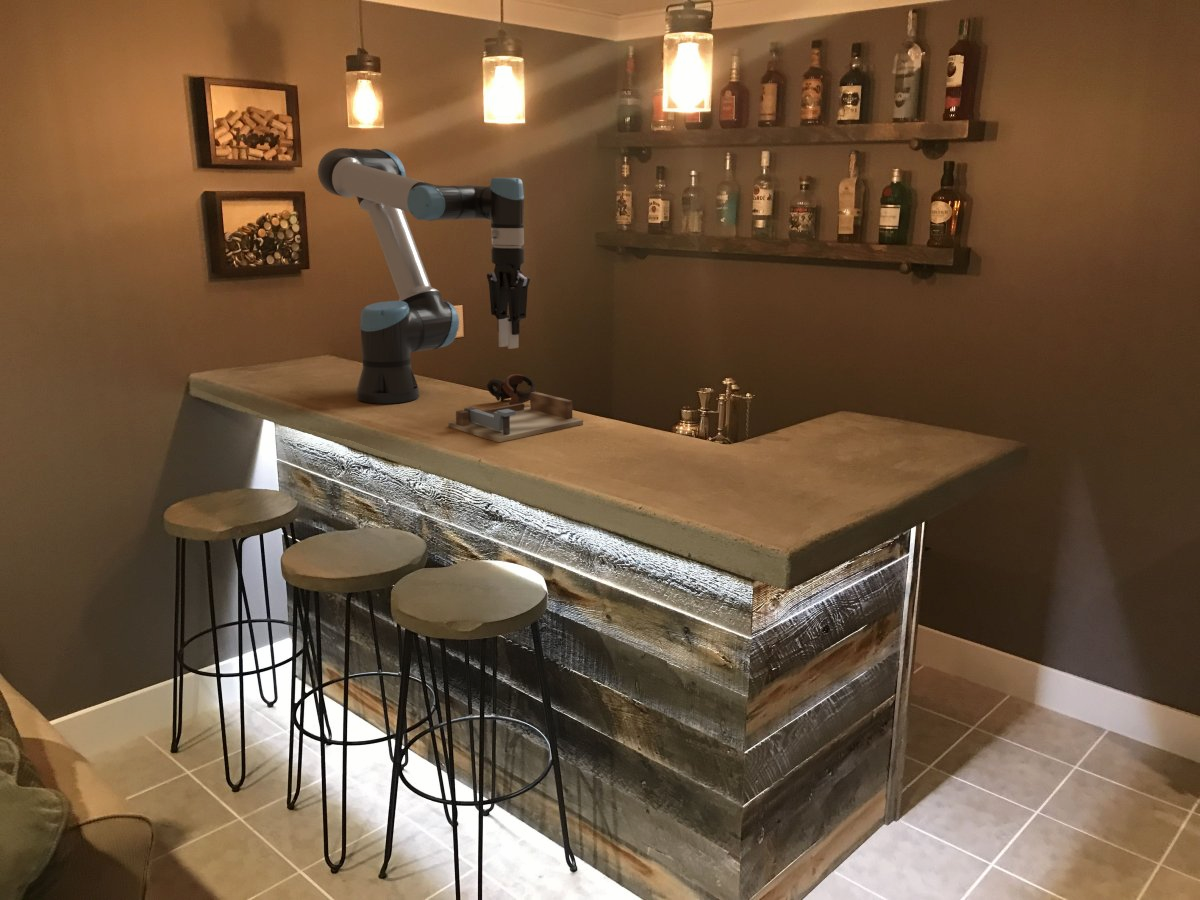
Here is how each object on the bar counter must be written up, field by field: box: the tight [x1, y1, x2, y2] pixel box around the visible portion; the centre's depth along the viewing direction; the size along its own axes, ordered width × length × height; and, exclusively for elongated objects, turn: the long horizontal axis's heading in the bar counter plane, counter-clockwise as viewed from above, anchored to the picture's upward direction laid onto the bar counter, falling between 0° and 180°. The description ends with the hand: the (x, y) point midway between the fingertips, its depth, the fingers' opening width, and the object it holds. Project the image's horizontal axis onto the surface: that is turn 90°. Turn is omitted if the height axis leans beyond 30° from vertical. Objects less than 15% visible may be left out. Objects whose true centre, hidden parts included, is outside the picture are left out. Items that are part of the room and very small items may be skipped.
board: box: [447, 391, 584, 443], centre depth 216 cm, size 18×24×5 cm
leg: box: [463, 406, 516, 431], centre depth 209 cm, size 16×3×4 cm, turn 41°
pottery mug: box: [486, 373, 537, 406], centre depth 237 cm, size 12×10×8 cm
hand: (508, 346), depth 231 cm, fingers open, 3 cm apart
